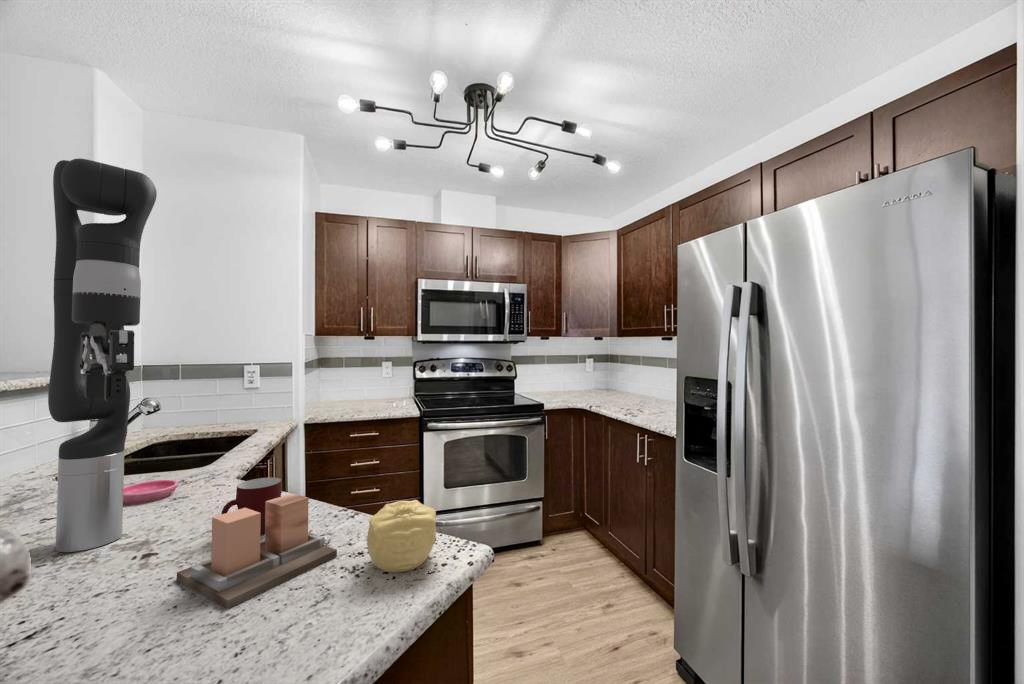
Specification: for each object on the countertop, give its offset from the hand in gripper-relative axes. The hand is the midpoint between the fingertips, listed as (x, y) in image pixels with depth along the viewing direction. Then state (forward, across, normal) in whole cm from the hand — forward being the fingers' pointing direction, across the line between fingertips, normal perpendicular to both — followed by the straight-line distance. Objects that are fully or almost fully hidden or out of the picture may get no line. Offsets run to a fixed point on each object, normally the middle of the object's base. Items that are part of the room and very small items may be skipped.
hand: (104, 399), depth 64 cm
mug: (+30, +4, -24) cm, 39 cm away
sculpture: (+30, -32, -30) cm, 53 cm away
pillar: (+28, -12, -13) cm, 34 cm away
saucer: (+31, +52, -23) cm, 64 cm away
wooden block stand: (+30, -12, -17) cm, 37 cm away
